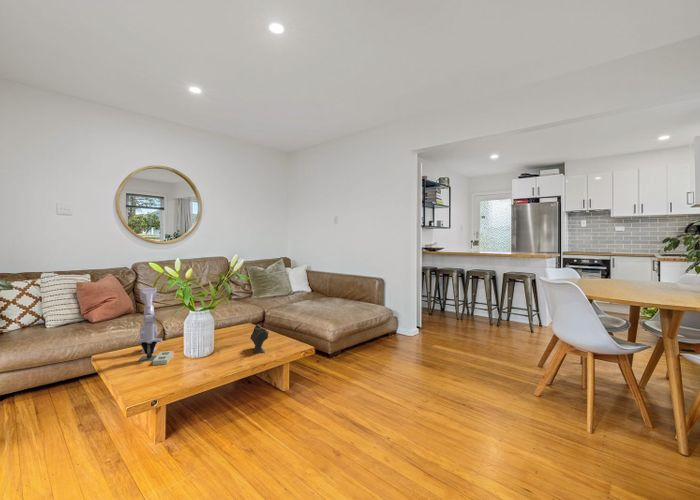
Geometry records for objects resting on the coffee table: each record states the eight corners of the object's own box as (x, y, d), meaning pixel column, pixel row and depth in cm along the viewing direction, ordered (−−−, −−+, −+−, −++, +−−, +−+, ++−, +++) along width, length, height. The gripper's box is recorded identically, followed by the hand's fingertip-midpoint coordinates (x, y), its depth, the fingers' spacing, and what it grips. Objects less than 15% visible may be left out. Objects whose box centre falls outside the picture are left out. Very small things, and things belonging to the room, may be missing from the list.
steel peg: (147, 356, 217) (147, 343, 216) (152, 356, 217) (152, 342, 217) (145, 358, 214) (145, 344, 213) (151, 358, 215) (151, 344, 214)
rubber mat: (141, 356, 220) (141, 356, 220) (158, 355, 222) (158, 355, 222) (136, 362, 210) (136, 361, 210) (154, 361, 213) (154, 360, 213)
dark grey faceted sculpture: (272, 346, 247) (272, 322, 246) (264, 353, 232) (265, 328, 231) (253, 345, 249) (254, 321, 248) (245, 352, 233) (245, 327, 233)
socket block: (160, 356, 222) (160, 351, 222) (173, 355, 224) (173, 351, 224) (152, 365, 206) (152, 360, 206) (166, 364, 208) (166, 359, 208)
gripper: (134, 335, 209) (134, 356, 210) (160, 334, 213) (159, 354, 214) (138, 331, 216) (138, 352, 216) (163, 330, 220) (162, 350, 220)
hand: (149, 353), depth 215 cm, fingers closed on steel peg, 3 cm apart
